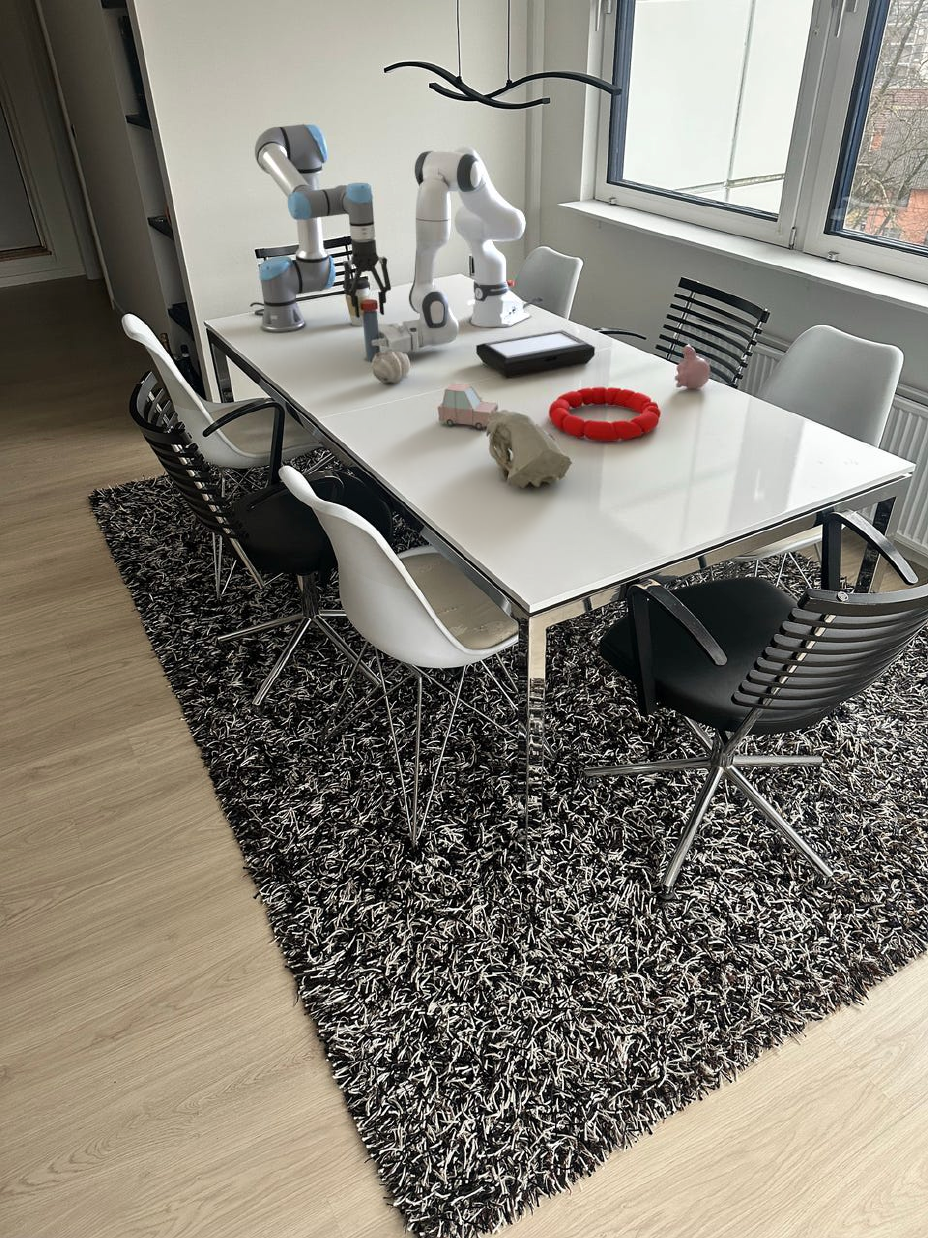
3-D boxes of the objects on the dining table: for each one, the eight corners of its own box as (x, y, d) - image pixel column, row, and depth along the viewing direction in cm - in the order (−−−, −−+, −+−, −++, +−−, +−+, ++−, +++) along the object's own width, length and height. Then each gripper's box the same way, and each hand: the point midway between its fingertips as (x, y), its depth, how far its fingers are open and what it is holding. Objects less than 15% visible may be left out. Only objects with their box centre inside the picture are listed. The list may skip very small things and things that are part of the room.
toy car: (488, 432, 240) (488, 396, 234) (436, 426, 244) (434, 390, 239) (499, 419, 247) (499, 384, 241) (448, 413, 252) (447, 379, 246)
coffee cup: (372, 326, 323) (368, 283, 314) (345, 327, 323) (340, 284, 315) (374, 318, 331) (371, 276, 322) (348, 319, 331) (344, 277, 323)
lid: (376, 305, 287) (376, 298, 286) (378, 310, 283) (378, 303, 281) (359, 307, 286) (359, 299, 285) (361, 311, 282) (361, 304, 281)
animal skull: (496, 517, 219) (521, 479, 201) (463, 429, 225) (484, 384, 207) (557, 503, 225) (586, 465, 206) (523, 417, 231) (549, 373, 212)
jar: (377, 361, 291) (372, 307, 281) (364, 360, 292) (359, 306, 283) (383, 357, 295) (378, 303, 285) (369, 355, 296) (365, 302, 286)
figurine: (665, 387, 264) (669, 347, 257) (693, 380, 268) (698, 340, 261) (686, 396, 257) (690, 355, 250) (714, 388, 262) (720, 348, 255)
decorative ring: (589, 435, 224) (684, 402, 234) (527, 398, 247) (617, 369, 256) (589, 461, 229) (683, 427, 238) (529, 422, 251) (617, 393, 260)
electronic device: (503, 360, 269) (476, 342, 284) (503, 380, 272) (476, 362, 287) (595, 344, 279) (563, 327, 294) (594, 364, 283) (563, 346, 298)
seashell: (364, 381, 275) (361, 349, 270) (407, 372, 281) (405, 341, 275) (377, 391, 268) (374, 358, 262) (421, 382, 273) (420, 349, 268)
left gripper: (333, 244, 267) (341, 321, 280) (398, 238, 272) (403, 314, 285) (328, 239, 273) (336, 315, 286) (392, 233, 278) (397, 308, 291)
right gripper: (401, 316, 300) (361, 321, 296) (418, 333, 284) (376, 338, 280) (402, 335, 303) (362, 340, 300) (419, 353, 287) (377, 358, 284)
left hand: (369, 314), depth 286 cm, fingers open, 7 cm apart
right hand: (369, 339), depth 290 cm, fingers closed on jar, 5 cm apart
